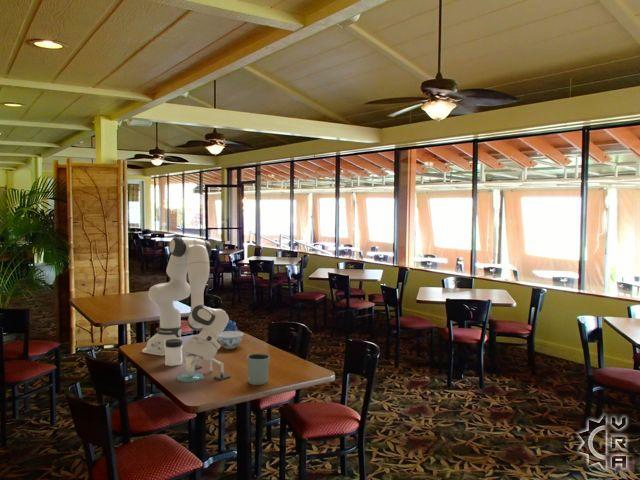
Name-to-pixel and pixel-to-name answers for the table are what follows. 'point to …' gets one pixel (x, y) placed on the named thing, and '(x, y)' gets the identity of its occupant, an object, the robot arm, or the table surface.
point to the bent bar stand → (218, 377)
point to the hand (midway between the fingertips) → (189, 363)
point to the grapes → (230, 326)
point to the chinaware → (230, 339)
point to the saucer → (190, 377)
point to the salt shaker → (190, 368)
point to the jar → (173, 352)
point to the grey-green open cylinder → (257, 368)
